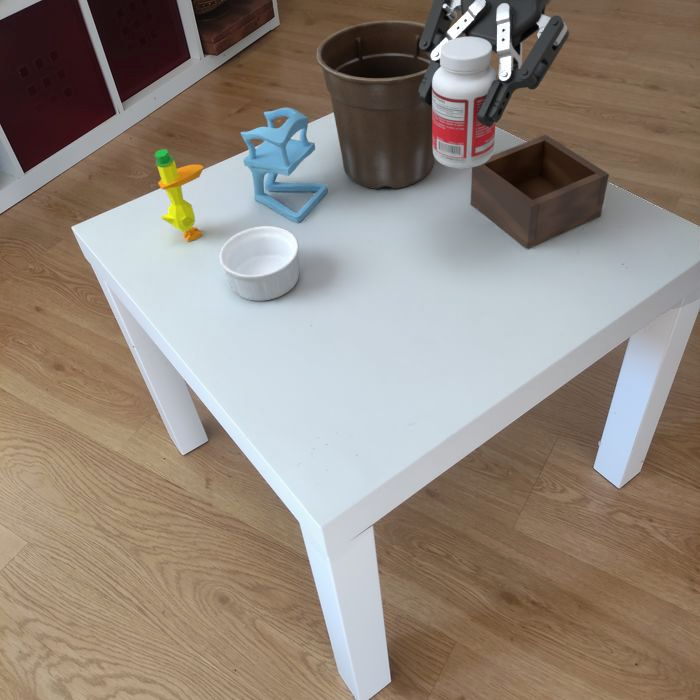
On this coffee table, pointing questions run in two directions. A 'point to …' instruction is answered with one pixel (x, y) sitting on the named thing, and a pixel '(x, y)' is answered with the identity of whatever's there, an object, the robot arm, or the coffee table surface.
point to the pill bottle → (462, 103)
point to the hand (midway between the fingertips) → (454, 112)
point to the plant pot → (379, 102)
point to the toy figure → (178, 193)
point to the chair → (281, 161)
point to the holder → (538, 190)
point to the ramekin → (261, 262)
